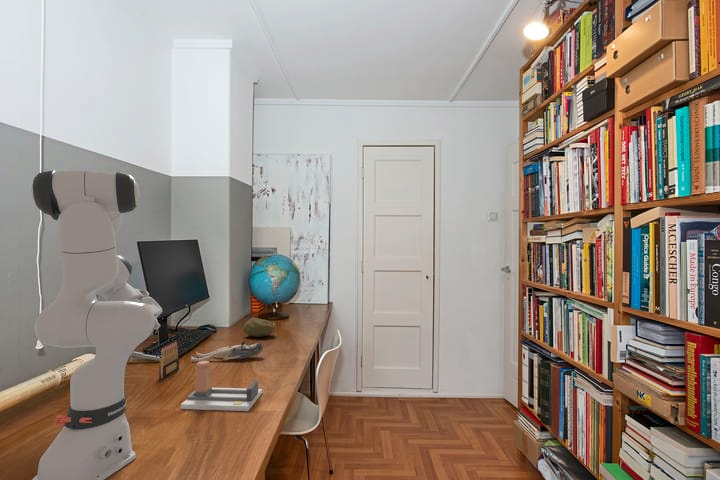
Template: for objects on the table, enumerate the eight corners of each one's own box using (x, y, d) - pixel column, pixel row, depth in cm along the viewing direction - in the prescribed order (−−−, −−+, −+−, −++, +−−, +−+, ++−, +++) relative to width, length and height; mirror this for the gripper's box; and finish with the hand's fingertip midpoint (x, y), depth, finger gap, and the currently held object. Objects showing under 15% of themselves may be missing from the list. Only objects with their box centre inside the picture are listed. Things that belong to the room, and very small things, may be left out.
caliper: (125, 363, 170) (125, 349, 170) (126, 362, 171) (126, 348, 171) (173, 362, 171) (173, 348, 171) (174, 361, 172) (174, 347, 172)
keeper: (205, 398, 129) (205, 365, 129) (194, 397, 129) (194, 364, 129) (211, 392, 134) (211, 360, 133) (200, 392, 134) (200, 360, 134)
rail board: (248, 411, 123) (248, 393, 123) (180, 408, 125) (180, 391, 125) (262, 393, 137) (262, 377, 137) (201, 391, 139) (201, 376, 139)
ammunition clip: (163, 379, 151) (163, 348, 151) (159, 379, 151) (158, 348, 151) (179, 369, 161) (179, 340, 161) (174, 369, 162) (174, 340, 161)
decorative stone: (277, 334, 218) (277, 317, 218) (270, 340, 207) (270, 321, 207) (248, 333, 220) (248, 316, 220) (239, 339, 209) (239, 320, 209)
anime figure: (196, 346, 179) (262, 336, 182) (199, 362, 179) (264, 352, 182) (189, 352, 170) (259, 342, 172) (191, 369, 170) (261, 358, 172)
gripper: (110, 299, 122) (140, 331, 122) (149, 290, 143) (175, 317, 142) (96, 313, 123) (126, 344, 122) (138, 302, 143) (163, 329, 143)
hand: (153, 329), depth 132 cm, fingers open, 4 cm apart
